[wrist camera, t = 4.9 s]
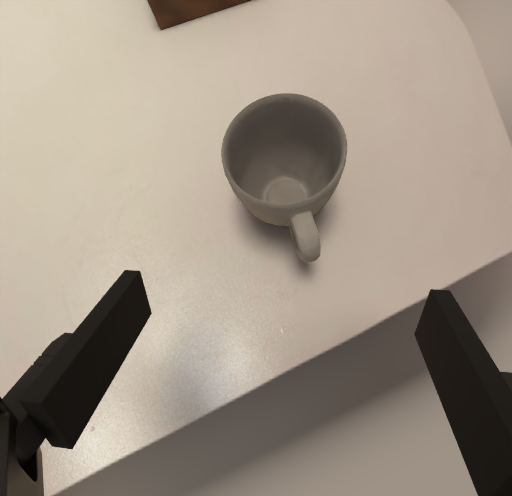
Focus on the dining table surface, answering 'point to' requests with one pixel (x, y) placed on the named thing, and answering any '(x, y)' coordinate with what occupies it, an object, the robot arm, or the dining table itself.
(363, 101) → the dining table surface
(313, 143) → the mug
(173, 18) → the riser
